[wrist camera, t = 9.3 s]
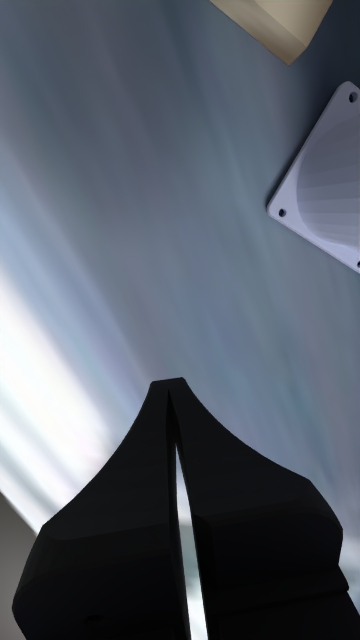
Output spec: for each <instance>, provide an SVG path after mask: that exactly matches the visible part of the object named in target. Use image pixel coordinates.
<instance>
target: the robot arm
mask: <svg viewBox="0 0 360 640" xmlns="http://www.w3.org/2000/svg"><path fill="white" fill-rule="evenodd" d="M350 94H351V95H352V96H353V102H352V103H351V102H350V101H349V95H350ZM280 209H283V210H284V214H283V215H282V217H280V216H279V214H278V213H279V210H280ZM267 214H268V215H269V216H270V217H272V218H273V219H275V220H277V221H278V222H280V223H281V224H283V225H284V226H286V227H287V228H289V229H291V230H292V231H294V232H295V233H297V234H298V235H300V236H301V237H303V238H305V239H306V240H308V241H309V242H311V243H312V244H314V245H316V246H317V247H319V248H320V249H322V250H323V251H325V252H326V253H328V254H330V255H331V256H333V257H334V258H336V259H337V260H339V261H340V262H342V263H344V264H345V265H347V266H348V267H350V268H351V269H353V270H355V271H356V272H358V273H359V274H360V265H359V266H357V263H358V262H359V261H360V89H359V88H358V87H356V86H355V85H354V84H353V83H352V82H350V81H347V82H344V83H342V84H341V85H339V87H338V88H337V89H336V91H335V92H334V94H333V96H332V97H331V99H330V101H329V103H328V104H327V106H326V108H325V109H324V111H323V113H322V114H321V116H320V118H319V119H318V121H317V123H316V124H315V126H314V128H313V130H312V131H311V133H310V135H309V136H308V138H307V140H306V141H305V143H304V145H303V146H302V148H301V150H300V151H299V153H298V155H297V157H296V158H295V160H294V162H293V163H292V165H291V167H290V168H289V170H288V172H287V173H286V175H285V177H284V178H283V180H282V182H281V184H280V185H279V187H278V189H277V190H276V192H275V194H274V195H273V197H272V199H271V200H270V202H269V204H268V206H267ZM176 446H177V451H178V455H179V460H180V464H181V468H182V473H183V477H184V482H185V486H186V491H187V495H188V500H189V506H190V512H191V519H192V527H193V534H194V541H195V548H196V556H197V563H198V570H199V577H200V585H201V592H202V599H203V606H204V614H205V621H206V628H207V636H208V640H360V615H359V613H358V611H357V609H356V607H355V606H354V604H353V602H352V600H351V598H350V596H349V594H348V592H347V591H348V590H349V585H348V582H347V580H346V578H345V576H344V575H343V573H342V571H341V569H340V567H339V565H338V564H339V558H340V553H341V547H342V541H343V528H342V526H341V524H340V522H339V520H338V518H337V517H336V515H335V513H334V512H333V510H332V509H331V507H330V506H329V504H328V503H327V502H326V500H325V499H324V498H323V496H322V495H321V494H320V492H319V491H318V490H317V489H316V487H315V486H314V485H313V484H312V482H311V481H310V480H309V479H307V478H305V477H303V476H301V475H299V474H297V473H295V472H292V471H290V470H288V469H286V468H284V467H282V466H280V465H278V464H276V463H275V462H273V461H271V460H270V459H268V458H266V457H264V456H263V455H261V454H260V453H258V452H257V451H255V450H254V449H252V448H251V447H249V446H248V445H246V444H245V443H243V442H242V441H241V440H240V439H238V438H237V437H236V436H234V435H233V434H232V433H231V432H230V431H228V430H227V429H226V428H225V427H224V426H223V425H222V424H221V423H220V422H218V421H217V420H216V419H215V418H214V416H213V415H212V414H211V413H210V412H209V411H208V410H207V409H206V408H205V407H204V406H203V404H202V403H201V402H200V401H199V400H198V398H197V397H196V396H195V394H194V393H193V392H192V390H191V389H190V387H189V386H188V384H187V382H186V380H185V379H184V378H183V377H180V378H173V379H166V380H159V381H153V382H152V383H151V384H150V387H149V390H148V393H147V396H146V398H145V401H144V403H143V405H142V407H141V409H140V411H139V414H138V416H137V417H136V419H135V421H134V423H133V425H132V426H131V428H130V430H129V432H128V433H127V435H126V436H125V438H124V439H123V441H122V442H121V444H120V445H119V447H118V448H117V450H116V451H115V452H114V454H113V455H112V456H111V457H110V459H109V460H108V461H107V463H106V464H105V465H104V466H103V468H102V469H101V470H100V471H99V472H98V473H97V475H96V476H95V477H94V478H93V479H92V480H91V481H90V482H89V483H88V484H87V485H86V486H85V487H84V488H83V489H82V490H81V491H80V493H79V494H78V495H76V496H75V497H74V498H73V499H72V500H71V501H70V502H69V503H68V504H67V505H66V506H64V507H63V508H62V509H61V510H60V511H59V512H58V513H57V514H55V515H54V516H53V517H52V518H51V519H50V520H49V521H47V522H46V523H45V524H44V525H43V526H42V527H41V530H40V532H39V534H38V536H37V539H36V541H35V543H34V545H33V547H32V549H31V552H30V554H29V556H28V559H27V561H26V564H25V567H24V570H23V573H22V576H21V579H20V582H19V584H18V587H17V590H16V593H15V596H14V599H13V605H12V612H13V615H14V618H15V620H16V622H17V624H18V626H19V628H20V629H21V631H22V633H23V635H24V636H25V638H26V640H191V632H190V623H189V614H188V604H187V595H186V586H185V576H184V567H183V558H182V548H181V539H180V529H179V520H178V510H177V484H176Z"/></svg>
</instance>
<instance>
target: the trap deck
mask: <svg viewBox="0 0 360 640" xmlns="http://www.w3.org/2000/svg"><path fill="white" fill-rule="evenodd" d="M209 1H211V2H212V3H213V4H214V5H215V6H217V7H218V8H219V9H220V10H221V11H223V12H224V13H225V14H226V15H227V16H229V17H230V18H231V19H232V20H233V21H235V22H236V23H237V24H238V25H239V26H241V27H242V28H243V29H244V30H245V31H247V32H248V33H249V34H250V35H252V36H253V37H254V38H255V39H256V40H258V41H259V42H260V43H261V44H262V45H264V46H265V47H266V48H267V49H268V50H270V51H271V52H272V53H273V54H274V55H276V56H277V57H278V58H279V59H280V60H282V61H283V62H284V63H285V64H286V65H288V66H290V65H291V64H292V63H293V62H294V61H295V60H296V59H297V58H298V57H299V56H300V54H301V53H302V52H303V51H304V50H305V49H306V48H307V47H308V45H309V44H310V42H311V40H312V38H313V36H314V34H315V33H316V31H317V29H318V27H319V25H320V23H321V22H322V20H323V18H324V16H325V14H326V12H327V11H328V9H329V7H330V5H331V3H332V1H333V0H209Z"/></svg>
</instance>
